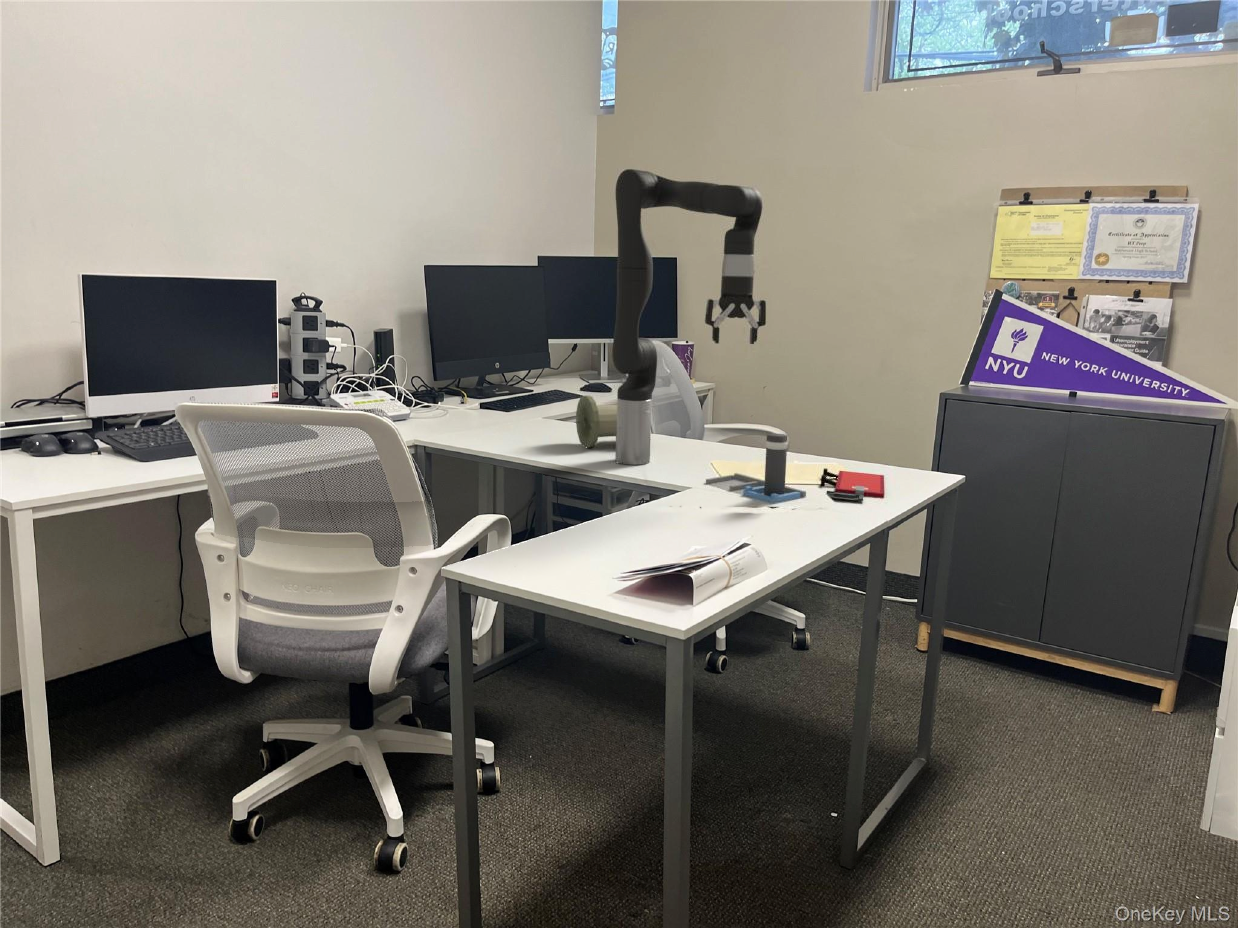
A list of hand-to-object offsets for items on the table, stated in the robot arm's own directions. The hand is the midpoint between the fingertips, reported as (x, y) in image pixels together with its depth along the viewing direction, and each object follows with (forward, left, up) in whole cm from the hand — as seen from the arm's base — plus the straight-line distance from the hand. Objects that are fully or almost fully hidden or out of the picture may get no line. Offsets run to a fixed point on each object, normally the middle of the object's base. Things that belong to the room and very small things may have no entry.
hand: (734, 343), depth 214 cm
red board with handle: (+30, -5, -35) cm, 46 cm away
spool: (-27, +44, -34) cm, 62 cm away
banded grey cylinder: (+8, -18, -33) cm, 38 cm away
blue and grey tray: (+4, -13, -34) cm, 37 cm away
